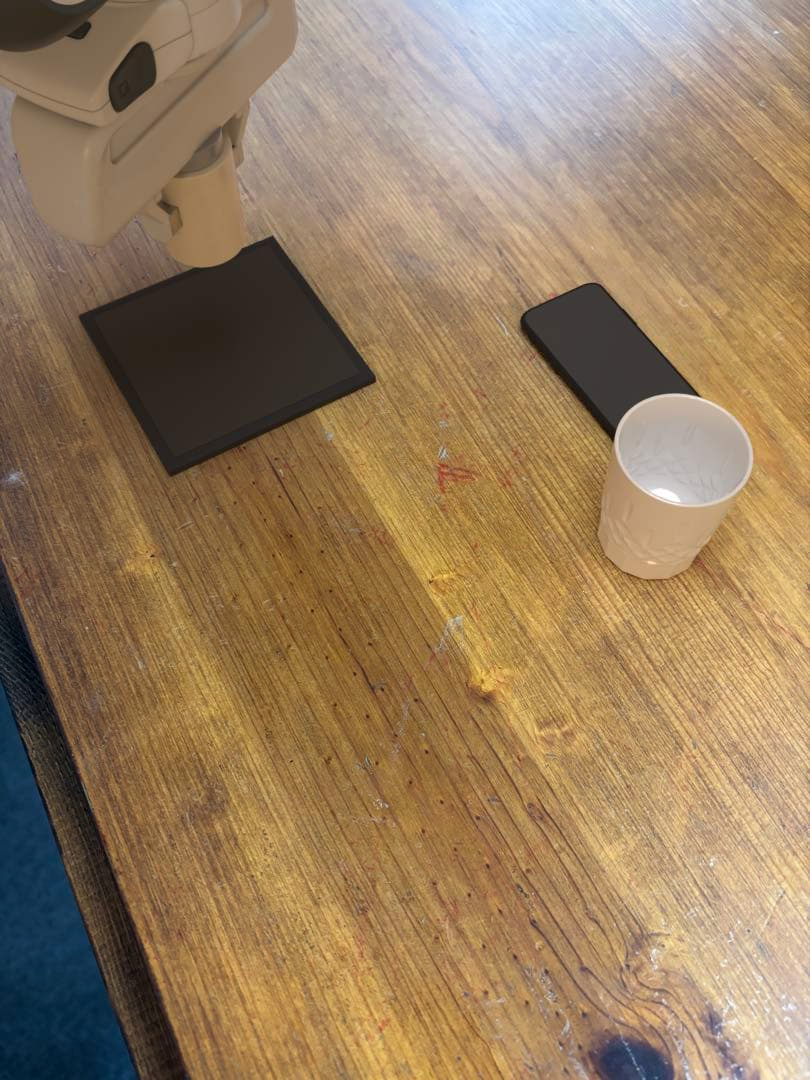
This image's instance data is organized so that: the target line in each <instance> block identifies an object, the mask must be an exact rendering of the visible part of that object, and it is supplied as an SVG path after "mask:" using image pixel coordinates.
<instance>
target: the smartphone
mask: <svg viewBox="0 0 810 1080" xmlns="http://www.w3.org/2000/svg"><path fill="white" fill-rule="evenodd" d="M519 323H520V327H521V328H522V330H523V331H524V332H525V334H526V335H527V336H528V339H529V340H530V341H531V342H532V343H533V344H534V345H535V346H536V348H537V350H538V351H539V352H540V353H541V354H542V356H543V357H544V358H545V359H547V362H548V363H549V364H550V365H551V366H552V368H553V369H554V370H555V371H556V372H558V374H559V375H560V376H561V377H562V378H563V380H564V381H565V383H567V385H568V386H569V387H570V388H571V390H572V391H573V392H574V393H575V394H576V395H577V397H578V398H579V399H580V400H581V401H582V403H583V404H584V405H585V406H586V408H587V409H588V410H589V411H590V412H591V413H592V414H593V416H594V417H595V418H596V420H597V421H598V422H599V423H600V424H601V426H602V427H603V428H604V429H605V430H606V432H607V433H608V434H609V436H611V438H612V439H613V440H614V438H615V434H616V430H617V427H618V425H619V423H620V421H621V419H622V418H623V416H624V415H625V414H626V413H627V412H628V411H629V410H630V409H631V408H632V407H633V406H635V405H636V404H638V403H639V402H641V401H643V400H645V399H648V398H650V397H654V396H657V395H663V394H687V395H693V396H697V397H701V398H703V397H702V396H701V395H700V394H699V392H697V390H696V389H695V388H694V387H693V386H692V384H691V383H689V381H688V380H687V379H686V378H685V377H684V375H683V374H682V373H681V372H680V371H679V370H678V369H677V367H675V366H674V364H673V363H672V362H671V361H670V360H669V359H668V358H667V356H665V354H664V353H663V352H662V351H661V350H660V349H659V348H658V346H657V345H656V344H655V343H654V342H653V341H652V339H650V338H649V336H648V335H647V334H646V333H645V332H644V331H643V330H642V328H640V326H639V325H638V323H637V322H636V320H635V319H634V318H633V317H632V316H631V315H630V314H629V313H628V312H627V310H626V309H625V308H623V307H622V306H621V305H620V304H619V302H618V301H617V300H616V299H615V298H614V297H613V296H612V294H610V293H609V292H608V290H607V289H606V288H605V287H604V286H603V285H601V284H600V283H598V282H587V283H586V282H585V283H583V284H581V285H578V286H577V287H574V288H572V289H569V290H568V291H566V292H563V293H562V294H559V295H557V296H555V297H553V298H550V299H548V300H546V301H544V302H542V303H539V304H537V305H535V306H533V307H531V308H529V309H527V310H525V312H523V313H522V314H521V316H520V319H519Z"/></svg>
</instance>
